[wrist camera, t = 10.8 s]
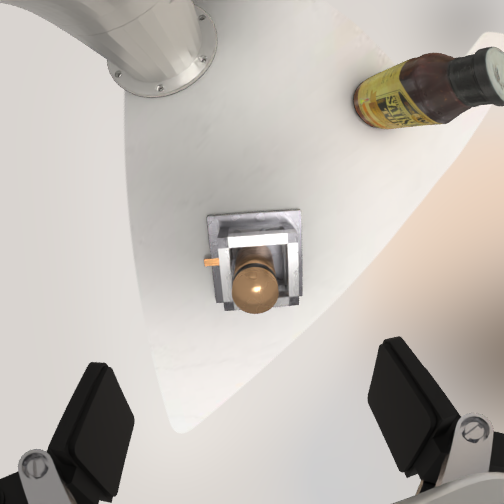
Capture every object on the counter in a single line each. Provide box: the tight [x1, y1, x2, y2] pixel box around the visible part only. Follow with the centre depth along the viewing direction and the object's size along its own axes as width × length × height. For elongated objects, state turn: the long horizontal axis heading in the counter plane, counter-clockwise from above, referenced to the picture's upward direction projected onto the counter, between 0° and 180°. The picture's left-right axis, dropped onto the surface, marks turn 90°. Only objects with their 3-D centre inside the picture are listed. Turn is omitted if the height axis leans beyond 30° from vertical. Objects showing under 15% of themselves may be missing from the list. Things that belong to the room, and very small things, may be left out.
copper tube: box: [232, 245, 279, 314], centre depth 30 cm, size 4×4×8 cm
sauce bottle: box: [354, 47, 504, 129], centre depth 20 cm, size 7×6×20 cm
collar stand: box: [204, 209, 302, 311], centre depth 32 cm, size 10×11×6 cm
